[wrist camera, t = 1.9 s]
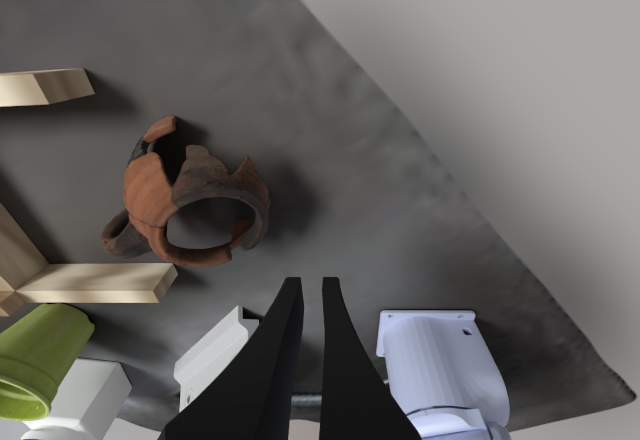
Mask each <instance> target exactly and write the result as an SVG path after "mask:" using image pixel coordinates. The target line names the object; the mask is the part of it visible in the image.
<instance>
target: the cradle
mask: <svg viewBox="0 0 640 440" xmlns="http://www.w3.org/2000/svg"><path fill="white" fill-rule="evenodd" d="M93 94H95V93H94V90H93V88H92V86H91V84H90V82H89V80H88V77H87V75H86V73H85V71H84V69H83V68H78V69H60V70H43V71H25V72H7V73H0V107H2V106H23V105H45V104H53V103H57V102H62V101H66V100H70V99H75V98H79V97H84V96H88V95H93ZM177 275H178V273H177V271H176V269H175V267H174V265H173V263H124V264H49V263H48V262H47V261H46V259H45V258H44V257H43V256H42V254H41V253H40V252H39V250H38V249H37V248H36V247H35V245H34V244H33V243H32V242H31V240H30V239H29V238H28V237H27V235H26V234H25V233H24V231H23V230H22V229H21V228H20V226H19V225H18V224H17V223H16V221H15V220H14V219H13V218H12V216H11V215H10V214H9V213H8V211H7V210H6V209H5V207H4V206H3V205H2V204H1V202H0V316H10V315H11V314H13V313H14V312H15V311H16V310H17V309H18V308H20V307H21V306H22V305H23V304H24V303H26V302H92V303H159V302H160V301H161V299H162V298H163V296H164V295H165V293H166V292H167V290H168V289H169V287H170V286H171V284H172V283H173V281H174V280H175V278H176V277H177Z"/></svg>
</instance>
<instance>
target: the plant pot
mask: <svg viewBox="0 0 640 440" xmlns="http://www.w3.org/2000/svg"><path fill="white" fill-rule="evenodd" d="M94 329H95V326H94V324H93V323H91V322H90V321H89V319H88V316H87V315H86V314H85V313H84V312H82V311H81V310H78V309H77V308H74V307H72V306H69V305H66V304H62V303H56V304H47V303H45V304H42V305H40V306H39V307H38V308H36V309H35V310H33V311H32V312H30V313H29V314H28V315H26V316H25V317H23V318H22V319H21V320H19V321H18V322H17V323H15V324H14V325H12V326H11V327H10V328H8V329H7V330H5V331H4V332H3V333H1V334H0V418H1V419H8V420H14V421H35V420H41V419H44V418H45V417H47V416H48V415H49V413H50V412H51V409H52V406H51V403H52V401H53V400H54V398H55V396H56V394H57V392H58V387H59V386H60V384H61V383H62V381H63V379H64V378H65V376H66V375H67V373H68V371H69V370H70V368H71V367H72V365H73V363H74V362H75V360H76V358H77V357H78V355H79V354H80V352H81V351H82V349H83V347H84V346H85V344H86V343H87V341H88V340H89V338H90V336H91V335H92V333H93V332H94Z"/></svg>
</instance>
